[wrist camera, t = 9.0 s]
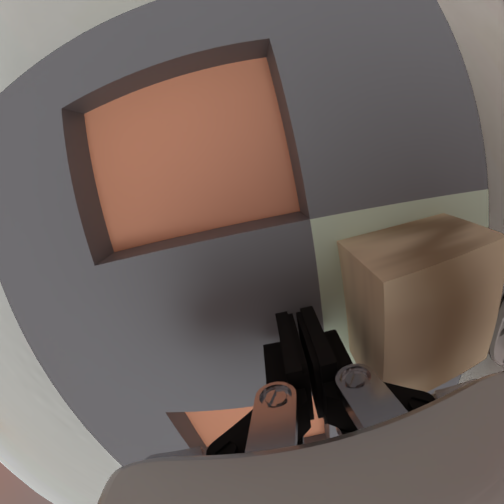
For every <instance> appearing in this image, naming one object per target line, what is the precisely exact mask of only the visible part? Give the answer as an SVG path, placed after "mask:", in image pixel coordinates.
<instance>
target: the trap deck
mask: <svg viewBox="0 0 504 504" xmlns="http://www.w3.org/2000/svg"><path fill="white" fill-rule="evenodd" d="M442 213H445V214H448V215H452V216H455V217H458V218H461V219H464V220H467V221H470V222H473V223H476V224H478V225H481V226H484V227H487V228H489V196H488V178H487V166H486V157H485V149H484V142H483V136H482V130H481V124H480V119H479V115H478V110H477V106H476V101H475V97H474V94H473V90H472V86H471V83H470V79H469V76H468V73H467V70H466V67H465V64H464V61H463V58H462V55H461V53H460V50H459V48H458V45H457V42H456V40H455V38H454V35H453V33H452V31H451V28H450V26H449V24H448V22H447V20H446V18H445V16H444V14H443V12H442V10H441V8H440V6H439V4H438V2H437V0H156V1H153V2H151V3H148V4H145V5H143V6H140V7H137V8H135V9H132V10H130V11H128V12H125V13H123V14H121V15H118V16H116V17H114V18H112V19H110V20H108V21H105V22H103V23H101V24H99V25H97V26H96V27H94V28H92V29H90V30H88V31H86V32H84V33H83V34H81V35H79V36H77V37H76V38H74V39H72V40H71V41H69V42H67V43H66V44H64V45H62V46H61V47H59V48H58V49H56V50H55V51H53V52H52V53H50V54H49V55H47V56H46V57H45V58H43V59H42V60H40V61H39V62H38V63H36V64H35V65H34V66H32V67H31V68H30V69H28V70H27V71H26V72H25V73H23V74H22V75H21V76H20V77H18V78H17V79H16V80H15V81H14V82H13V83H11V84H10V85H9V86H8V87H7V88H6V89H5V90H3V91H2V92H1V93H0V282H1V284H2V287H3V290H4V292H5V295H6V297H7V300H8V302H9V304H10V307H11V309H12V311H13V313H14V316H15V318H16V320H17V322H18V324H19V326H20V328H21V330H22V332H23V334H24V336H25V338H26V340H27V342H28V344H29V346H30V347H31V349H32V351H33V353H34V355H35V356H36V358H37V360H38V361H39V363H40V365H41V366H42V368H43V370H44V371H45V373H46V374H47V376H48V378H49V379H50V381H51V382H52V384H53V385H54V387H55V388H56V389H57V391H58V392H59V394H60V395H61V397H62V398H63V399H64V401H65V402H66V403H67V405H68V406H69V407H70V409H71V410H72V411H73V413H74V414H75V415H76V416H77V418H78V419H79V420H80V421H81V422H82V424H83V425H84V426H85V427H86V428H87V430H88V431H89V432H90V433H91V434H92V435H93V436H94V438H95V439H96V440H97V441H98V442H99V443H100V444H101V445H102V446H103V447H104V448H105V449H106V450H107V451H108V452H109V454H110V455H111V456H112V457H113V458H114V459H116V460H117V461H118V462H119V463H120V464H121V465H122V466H125V465H127V464H130V463H133V462H138V461H142V460H145V459H146V458H147V457H149V456H150V455H154V454H158V453H166V452H172V451H178V450H184V449H189V448H194V447H199V446H201V447H202V448H206V447H209V445H210V444H211V443H212V442H213V441H215V440H216V439H217V438H218V437H220V436H221V435H222V434H223V433H225V432H226V431H227V430H228V429H230V428H231V427H232V426H233V425H235V424H236V423H237V422H238V421H239V420H241V419H242V418H243V417H244V416H245V415H247V414H248V413H249V412H250V411H251V410H252V409H253V405H254V400H255V396H256V393H257V391H258V390H259V389H260V388H261V387H263V386H264V385H266V374H265V362H264V350H263V345H265V344H271V343H276V342H280V338H279V333H278V327H277V322H276V316H275V313H280V312H285V311H287V313H288V314H291V313H292V314H293V317H294V320H295V324H296V327H297V331H298V334H299V329H298V323H297V317H296V312H300V308H304V307H308V306H313V309H314V311H315V313H316V315H317V318H318V320H319V322H320V324H321V327H322V329H323V331H324V332H326V331H330V330H334V329H335V330H336V331H337V333H338V335H339V337H340V339H341V341H342V343H343V345H344V347H345V349H346V351H347V353H348V355H349V357H350V359H351V361H352V363H353V364H356V362H355V360H354V358H353V356H352V354H351V352H350V349H349V336H348V325H347V314H346V305H345V296H344V288H343V280H342V273H341V266H340V259H339V252H338V246H337V241H338V240H342V239H346V238H350V237H354V236H358V235H362V234H366V233H369V232H373V231H377V230H381V229H385V228H389V227H392V226H396V225H400V224H404V223H408V222H411V221H415V220H419V219H423V218H427V217H430V216H434V215H438V214H442ZM299 337H300V336H299ZM460 377H461V374H460V375H458V376H457V377H455V378H453V379H451V380H449V381H448V382H446V383H444V384H442V385H440V386H438V387H436V388H434V389H432V390H430V391H428V392H427V393H430V394H434V391H435V390H439V389H443V388H447V387H450V386H454V385H457V384H458V383H459V380H460ZM311 393H312V392H311ZM312 402H313V411H314V420H310V421H311V428H310V429H309V431H308V432H307V433H306V434H305V435H304V444H306V443H311V442H315V441H320V440H324V439H328V438H332V437H336V436H339V435H338V433H337V430H336V427H335V426H332V425H330V424H325V422H324V419H323V418H318V415H317V412H316V408H315V404H314V400H313V396H312Z"/></svg>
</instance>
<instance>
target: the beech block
mask: <svg viewBox="0 0 504 504" xmlns="http://www.w3.org/2000/svg"><path fill="white" fill-rule="evenodd" d="M337 246H338V252H339V259H340V266H341V273H342V280H343V288H344V296H345V305H346V314H347V325H348V336H349V349H350V352H351V354H352V356H353V358H354V360H355V362H356V364H358V363H359V364H365V365H367V366H369V367H371V368H372V369H373V370H374V371H375V373H376V374H377V375H378V376H379V377H380V379H381V380H382V381H383V382H386V383H390V384H394V385H398V386H403V387H407V388H411V389H416V390H420V391H425V392H428V391H430V390H432V389H434V388H436V387H438V386H440V385H442V384H444V383H446V382H448V381H449V380H451V379H453V378H455V377H457V376H458V375H460V374H462V373H464V372H465V371H467V370H469V369H470V368H472V367H474V366H475V365H477V364H478V363H480V362H481V361H483V360H484V359H486V357H487V354H488V351H489V348H490V344H491V341H492V337H493V333H494V329H495V325H496V321H497V317H498V312H499V307H500V302H501V296H502V290H503V284H504V234H503V233H500V232H497V231H495V230H492V229H489V228H487V227H484V226H481V225H478V224H476V223H473V222H470V221H467V220H464V219H461V218H458V217H455V216H452V215H448V214H445V213H442V214H438V215H434V216H430V217H427V218H423V219H419V220H415V221H411V222H408V223H404V224H400V225H396V226H392V227H389V228H385V229H381V230H377V231H373V232H369V233H366V234H362V235H358V236H354V237H350V238H346V239H342V240H338V241H337Z"/></svg>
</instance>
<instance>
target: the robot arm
mask: <svg viewBox="0 0 504 504" xmlns="http://www.w3.org/2000/svg"><path fill="white" fill-rule="evenodd" d="M275 316H276V322H277V327H278V333H279V338H280V342H276V343H271V344H265V345H263V350H264V362H265V374H266V385H264V386H263V387H261V388H260V389H259V390H258V391H257V393H256V396H255V400H254V405H253V409H252V410H251V411H250V412H249V413H248V414H247V415H245V416H244V417H243V418H242V419H241V420H239V421H238V422H237V423H236V424H235V425H233V426H232V427H231V428H230V429H228V430H227V431H226V432H225V433H223V434H222V435H221V436H220V437H218V438H217V439H216V440H215V441H213V442H212V443H211V444H210V445H209V447H206V448H202V447H201V446H199V447H194V448H189V449H184V450H178V451H172V452H166V453H158V454H154V455H150V456H149V457H147V458H146V459H145V460H142V461H138V462H133V463H130V464H127V465H125V466H123V467H121V468H119V469H117V470H116V471H115V472H114V473H113V474H112V475H111V477H110V478H109V480H108V481H107V483H106V485H105V487H104V489H103V491H102V494H101V496H100V498H99V501H98V504H504V371H503V372H498V373H494V374H491V375H488V376H485V377H482V378H480V379H474V380H470V381H467V382H464V383H460V384H457V385H454V386H450V387H447V388H443V389H439V390H435V391H434V394H430V393H427V392H425V391H420V390H416V389H411V388H407V387H403V386H398V385H394V384H390V383H386V382H383V381H382V380H381V379H380V377H379V376H378V375H377V374H376V373H375V371H374V370H373V369H372V368H371V367H369V366H367V365H365V364H359V363H358V364H353V363H352V361H351V359H350V357H349V355H348V353H347V351H346V349H345V347H344V345H343V343H342V341H341V339H340V337H339V335H338V333H337V331H336V330H335V329H334V330H330V331H326V332H324V331H323V329H322V327H321V324H320V322H319V320H318V318H317V315H316V313H315V311H314V309H313V306H308V307H304V308H300V312H296V317H297V323H298V329H299V334H298V331H297V327H296V324H295V320H294V317H293V314H292V313H291V314H288V313H287V311H285V312H280V313H275ZM299 336H300V337H299ZM490 356H491V358H492V359H493V360H494V361H495V362H496V363H497V364H498V365H504V300H503V302H502V304H501V307H500V309H499V312H498V317H497V321H496V325H495V329H494V333H493V337H492V341H491V344H490ZM311 392H312V393H311ZM312 396H313V400H314V404H315V408H316V412H317V415H318V418H323V419H324V422H325V424H330V425H332V426H335V427H336V430H337V433H338V435H339V436H336V437H332V438H328V439H324V440H320V441H315V442H311V443H306V444H304V435H305V434H306V433H307V432H308V431H309V429H310V428H311V421H310V420H314V411H313V402H312Z"/></svg>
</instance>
